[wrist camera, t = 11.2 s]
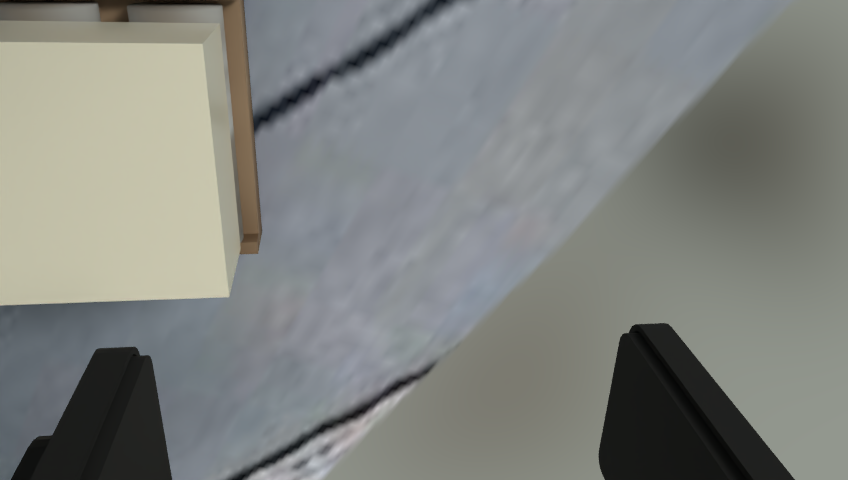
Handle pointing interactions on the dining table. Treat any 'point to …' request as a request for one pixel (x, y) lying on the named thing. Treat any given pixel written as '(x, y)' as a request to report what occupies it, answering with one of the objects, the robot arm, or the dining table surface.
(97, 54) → the slab
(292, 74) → the dining table surface
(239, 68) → the track
